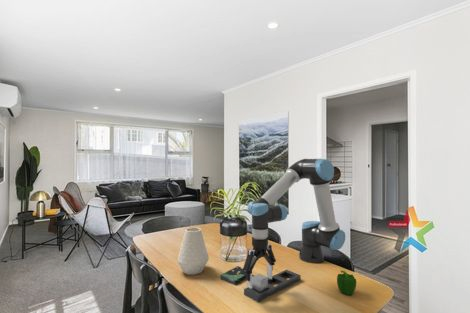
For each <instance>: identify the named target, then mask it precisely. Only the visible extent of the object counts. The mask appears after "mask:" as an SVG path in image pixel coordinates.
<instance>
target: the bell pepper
mask: <svg viewBox="0 0 470 313" xmlns="http://www.w3.org/2000/svg"><path fill="white" fill-rule="evenodd" d="M336 284H337V287H338V288H337V289H338V290H339V292H340V293H342V294H345V295H347V296H352V295H353V294H355V291H356V288H357V279H356V277H355V276H354V275H353V274H350V273H347V272H346V271H345V270H340V273H338V274H337V276H336Z"/></svg>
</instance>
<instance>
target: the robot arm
mask: <svg viewBox="0 0 470 313" xmlns="http://www.w3.org/2000/svg"><path fill="white" fill-rule="evenodd" d="M334 174H335V168H334V165H333V163H332V162H331V161H330V160H329V159H325V158H303V159H299V160H297V161H296V162H294V163H293V164H291V165H290V166H289V167H288V168H287V169H286V170H285V173H284V174H282V176H281V177H280V178H279V179H278V180H277V181H276V182H275V183H274V184H272V186H271V187H269V189H268V190H266V192H265V193H264V194H263V195H261V196H260V197H259V199H257V200H252V201H250V202H249V203H248V204H247V212H248V213H249V215H251V236H252V237H251V245H252V250H251V249H247V255H246V258H245V262H244V265H243V268H242V269H243V270H242V272H244V273H246V279H245V280H246V288H247V287H249V288H251V289H252V277H253V270H254V268H255V265H256V263H257V261H258V260H259V259H261V258H264V259H265V260H266V262H267V263H266V277H268V278H269V279H272V276H273V271H274V268H273V266H275V265H276V264H275V263H276V262H277V260H276V257H275V255H274V252H273V248H272V244H269V238H268V237H269V223H270V224H272V223H276V222H282V221H284V220H286V219H287V217H288V209H287V208H286V206H285V205H283V204H277V205H275V203H276V202H277V201H279V199H281V197H282V196H284V194H285V193H286V192H287V191H288V190H289V189H290V188H291V187H292V186H293V185H294V184H296V183H298V182H299V181H301V180H303V179H308V180H309V184H310V185H311V186H312V187H313V190H314V195H315V200H316V201H315V202H316V208H317V213H318V217H319V221H317V220H308V221H304V222H302V225H301V246H300V251H299V253H298V256H299V260H302V261H304V262H306V263H311V264H313V263H314V264H319V263H322V262H324V261H325V255H324V252H323V249H322V246H323V247H325V248H328V249H330V250H334V251H336V250H337V251H338V250H339V251H340V249H342V248H343V246H344V245H345V241H346V232H345V231H344V230H342V229H340V224H339V223H338V222H337V221H336V217H335V216H336V215H335V210H334V206H333V200H332V194H331V189H330V184H331V182H332V179H333V178H334V177H335V176H334ZM251 272H252V273H251Z"/></svg>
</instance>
